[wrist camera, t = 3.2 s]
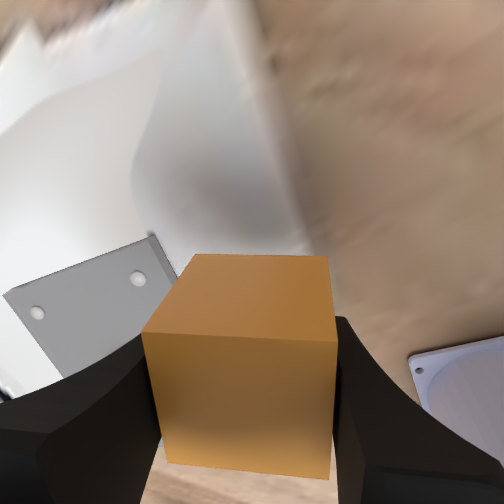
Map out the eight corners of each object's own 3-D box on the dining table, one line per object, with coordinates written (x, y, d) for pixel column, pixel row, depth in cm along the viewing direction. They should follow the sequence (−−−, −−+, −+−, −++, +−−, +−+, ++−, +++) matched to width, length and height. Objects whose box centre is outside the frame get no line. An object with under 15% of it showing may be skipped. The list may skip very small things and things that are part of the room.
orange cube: (326, 256, 13) (338, 341, 8) (322, 363, 15) (329, 479, 10) (195, 253, 14) (140, 331, 9) (207, 357, 16) (167, 462, 11)
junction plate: (253, 419, 27) (243, 476, 23) (125, 443, 30) (97, 496, 26) (154, 235, 22) (119, 267, 18) (13, 287, 25) (-44, 325, 21)
